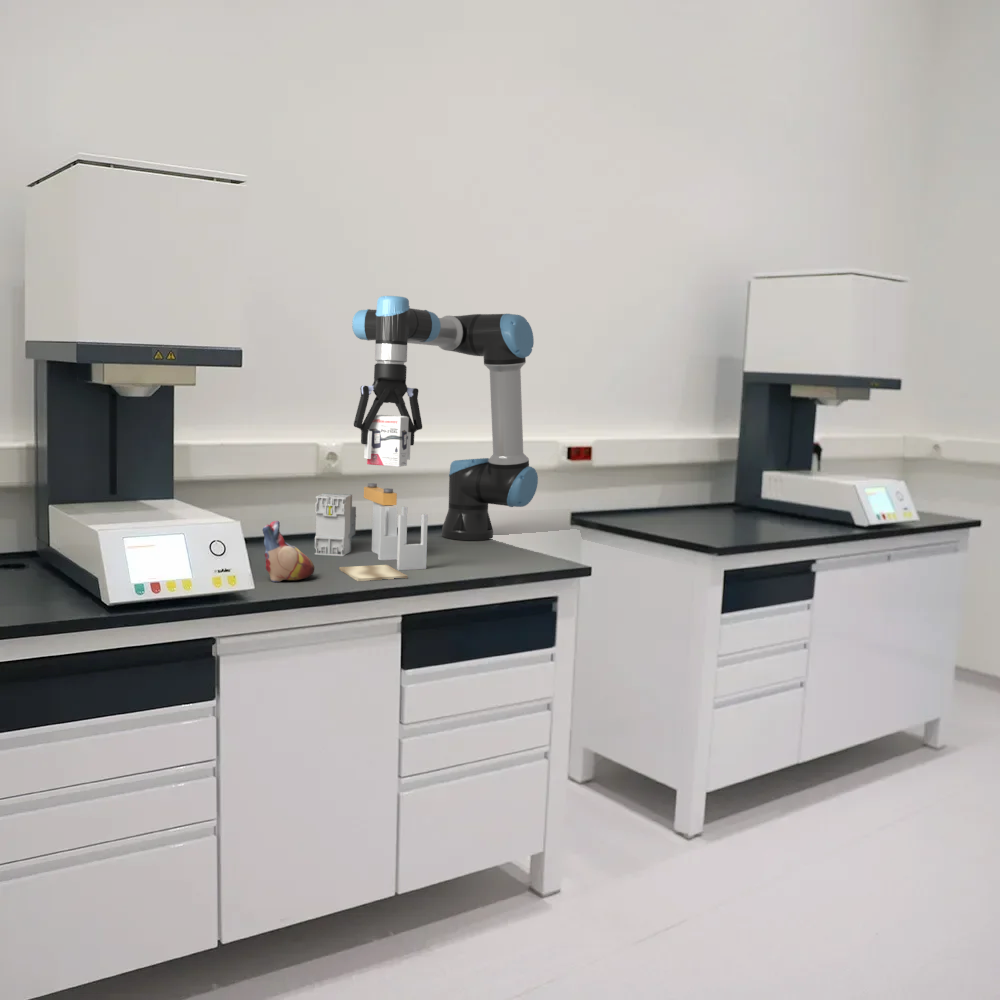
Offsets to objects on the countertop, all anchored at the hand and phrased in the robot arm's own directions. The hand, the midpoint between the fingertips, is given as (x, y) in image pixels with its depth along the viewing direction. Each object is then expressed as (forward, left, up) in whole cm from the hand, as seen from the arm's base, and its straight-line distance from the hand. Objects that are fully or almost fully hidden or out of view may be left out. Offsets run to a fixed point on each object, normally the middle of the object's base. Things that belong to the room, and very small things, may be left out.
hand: (387, 458), depth 236 cm
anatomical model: (+24, +5, -27) cm, 37 cm away
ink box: (0, 0, -2) cm, 2 cm away
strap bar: (-7, -23, -13) cm, 27 cm away
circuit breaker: (+3, -28, -27) cm, 39 cm away
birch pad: (+4, +4, -27) cm, 27 cm away
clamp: (-7, -12, -27) cm, 30 cm away
